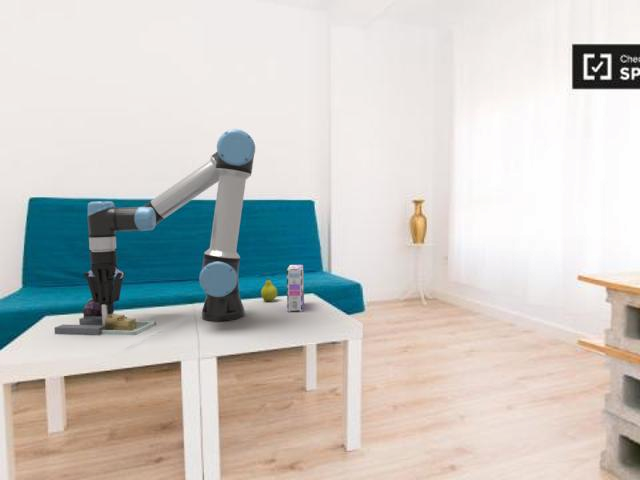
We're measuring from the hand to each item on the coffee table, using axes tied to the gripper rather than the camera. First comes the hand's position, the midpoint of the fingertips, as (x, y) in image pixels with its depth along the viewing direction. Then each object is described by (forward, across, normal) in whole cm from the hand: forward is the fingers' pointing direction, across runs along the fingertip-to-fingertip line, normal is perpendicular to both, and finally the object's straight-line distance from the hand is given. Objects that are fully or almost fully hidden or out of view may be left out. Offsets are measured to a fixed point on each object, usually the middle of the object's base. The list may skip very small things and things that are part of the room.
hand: (107, 323), depth 132 cm
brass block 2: (+3, -7, 0) cm, 7 cm away
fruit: (+3, -39, -51) cm, 64 cm away
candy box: (+3, -53, -39) cm, 66 cm away
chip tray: (+3, -8, 0) cm, 8 cm away
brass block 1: (+2, -3, 0) cm, 3 cm away
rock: (+3, +14, -15) cm, 21 cm away
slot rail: (+3, +5, 0) cm, 6 cm away
